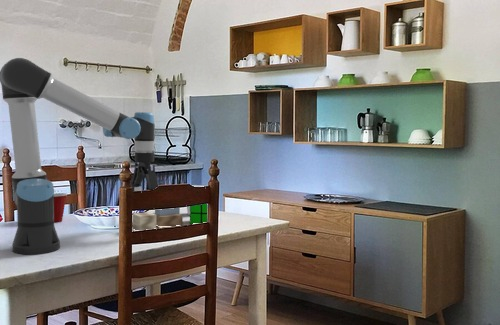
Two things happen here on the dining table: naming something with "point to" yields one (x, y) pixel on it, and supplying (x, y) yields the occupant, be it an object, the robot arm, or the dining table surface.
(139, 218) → the maple block
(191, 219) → the puzzle cube
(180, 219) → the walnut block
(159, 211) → the slate block
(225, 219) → the dining table surface
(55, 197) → the plastic cup
